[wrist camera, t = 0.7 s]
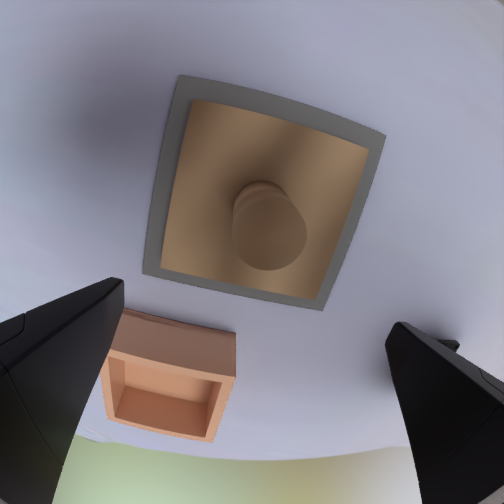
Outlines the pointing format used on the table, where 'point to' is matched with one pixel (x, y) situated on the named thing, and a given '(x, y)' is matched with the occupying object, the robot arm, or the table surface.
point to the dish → (168, 376)
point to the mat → (269, 106)
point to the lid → (259, 200)
